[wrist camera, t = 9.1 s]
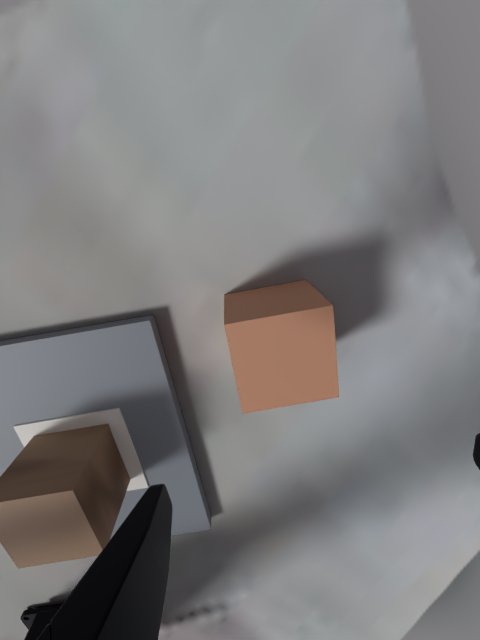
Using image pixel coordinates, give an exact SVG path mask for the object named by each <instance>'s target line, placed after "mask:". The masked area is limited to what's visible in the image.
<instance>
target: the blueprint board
mask: <svg viewBox="0 0 480 640" xmlns="http://www.w3.org/2000/svg"><path fill="white" fill-rule="evenodd" d="M102 424H109V427H110V429H111V432H112V434H113V437H114V439H115V442H116V444H117V447H118V449H119V452H120V454H121V457H122V459H123V462H124V464H125V467H126V469H127V472H128V474H129V477H130V479H131V480H130V482H129V485H128V488H127V491H126V494H125V497H124V500H123V503H122V506H121V509H120V512H119V514H118V517H117V520H116V523H115V526H114V529H113V532H112V535H111V538H112V537H113V535H114V534H115V532H116V531H117V530H118V528H119V527H120V526H121V524H122V523H123V522H124V520H125V519H126V518H127V516H128V515H129V513H130V512H131V511H132V509H133V508H134V507H135V505H136V504H137V503H138V501H139V500H140V498H141V497H142V496H143V494H144V493H145V492H146V490H147V489H148V488H149V487H150V486H151V485H156V484H165V486H166V488H167V491H168V494H169V496H170V499H171V502H172V509H173V512H172V527H171V536H174V535H180V534H186V533H192V532H199V531H205V530H211V514H210V511H209V507H208V504H207V500H206V497H205V493H204V490H203V486H202V483H201V479H200V476H199V472H198V469H197V465H196V462H195V458H194V455H193V451H192V448H191V444H190V441H189V437H188V434H187V430H186V427H185V423H184V420H183V416H182V413H181V409H180V406H179V402H178V399H177V395H176V392H175V388H174V385H173V381H172V378H171V374H170V371H169V367H168V364H167V360H166V357H165V353H164V350H163V346H162V343H161V339H160V336H159V332H158V329H157V325H156V322H155V318H154V315H149V316H143V317H137V318H131V319H125V320H120V321H114V322H108V323H102V324H96V325H90V326H85V327H79V328H73V329H67V330H61V331H56V332H50V333H44V334H38V335H32V336H26V337H21V338H15V339H9V340H3V341H0V476H1V475H2V474H3V473H4V472H5V470H6V469H7V468H8V467H9V466H10V464H11V463H12V462H13V461H14V459H15V458H16V457H17V456H18V455H19V453H20V452H21V451H22V450H23V449H24V447H25V446H26V445H27V444H28V442H29V441H30V440H31V439H32V438H33V436H36V435H42V434H48V433H54V432H60V431H66V430H72V429H78V428H84V427H90V426H96V425H102ZM111 538H110V539H111Z"/></svg>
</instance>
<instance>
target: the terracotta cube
mask: <svg viewBox="0 0 480 640" xmlns="http://www.w3.org/2000/svg"><path fill="white" fill-rule="evenodd" d="M224 326H225V331H226V336H227V341H228V345H229V350H230V355H231V360H232V365H233V370H234V374H235V379H236V384H237V389H238V394H239V398H240V403H241V408H242V413H243V414H244V413H250V412H255V411H261V410H267V409H273V408H279V407H284V406H290V405H296V404H302V403H307V402H313V401H319V400H325V399H331V398H336V397H339V386H338V370H337V355H336V340H335V325H334V309H333V305H332V304H331V303H330V302H329V301H328V300H327V299H326V298H325V297H324V296H323V295H322V294H321V293H320V292H319V291H318V290H316V289H315V288H314V287H313V286H312V285H311V284H310V283H309V282H308V281H307V280H302V281H297V282H291V283H286V284H280V285H274V286H269V287H263V288H258V289H252V290H247V291H241V292H235V293H230V294H224Z"/></svg>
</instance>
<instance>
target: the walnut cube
mask: <svg viewBox="0 0 480 640" xmlns="http://www.w3.org/2000/svg"><path fill="white" fill-rule="evenodd" d="M130 480H131V479H130V477H129V474H128V472H127V469H126V467H125V464H124V462H123V459H122V457H121V454H120V452H119V449H118V447H117V444H116V442H115V439H114V437H113V434H112V432H111V429H110V427H109V424H102V425H96V426H90V427H84V428H78V429H72V430H66V431H60V432H54V433H48V434H42V435H36V436H33V438H32V439H31V440H30V441H29V442H28V444H27V445H26V446H25V447H24V449H23V450H22V451H21V452H20V453H19V455H18V456H17V457H16V458H15V459H14V461H13V462H12V463H11V464H10V466H9V467H8V468H7V469H6V470H5V472H4V473H3V474H2V475H1V476H0V542H1V544H2V545H3V547H4V548H5V550H6V551H7V553H8V554H9V556H10V557H11V559H12V560H13V562H14V563H15V565H16V566H17V568H23V567H30V566H36V565H42V564H48V563H55V562H61V561H67V560H74V559H80V558H86V557H92V556H99V554H100V553H101V552H102V550H103V549H104V547H105V546H106V545H107V543H108V542H109V541H110V538H111V535H112V532H113V529H114V526H115V523H116V520H117V517H118V514H119V512H120V509H121V506H122V503H123V500H124V497H125V494H126V491H127V488H128V485H129V482H130Z"/></svg>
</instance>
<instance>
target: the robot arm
mask: <svg viewBox="0 0 480 640" xmlns="http://www.w3.org/2000/svg"><path fill="white" fill-rule="evenodd" d="M473 458H474V461H475V463H476V465H477V467H478V468H479V470H480V433H479V434H477V435H476V438H475V444H474V451H473ZM172 512H173V509H172V502H171V499H170V496H169V494H168V491H167V488H166V486H165V484H156V485H151V486H150V487H149V488H148V489H147V490H146V492H145V493H144V494H143V496H142V497H141V498H140V500H139V501H138V503H137V504H136V505H135V507H134V508H133V509H132V511H131V512H130V513H129V515H128V516H127V518H126V519H125V520H124V522H123V523H122V524H121V526H120V527H119V528H118V530H117V531H116V532H115V534H114V535H113V537H112V538H111V539H110V541H109V542H108V543H107V545H106V546H105V547H104V549H103V550H102V552H101V553H100V554H99V556H98V557H97V558H96V560H95V561H94V562H93V564H92V565H91V566H90V568H89V569H88V571H87V572H86V573H85V575H84V576H83V577H82V579H81V580H80V581H79V583H78V584H77V585H76V587H75V588H74V590H73V591H72V592H71V594H70V595H69V596H68V598H67V599H66V600H65V602H64V603H63V604H61V605H55V606H49V607H42V608H36V609H29V610H25V611H24V612H23V614H22V616H21V620H22V622H23V623H24V624H25V626H26V627H27V628H28V630H29V631H28V633H27V635H26V637H25V639H24V640H158V635H159V629H160V623H161V617H162V610H163V604H164V598H165V592H166V585H167V579H168V571H169V558H170V543H171V527H172Z"/></svg>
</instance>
